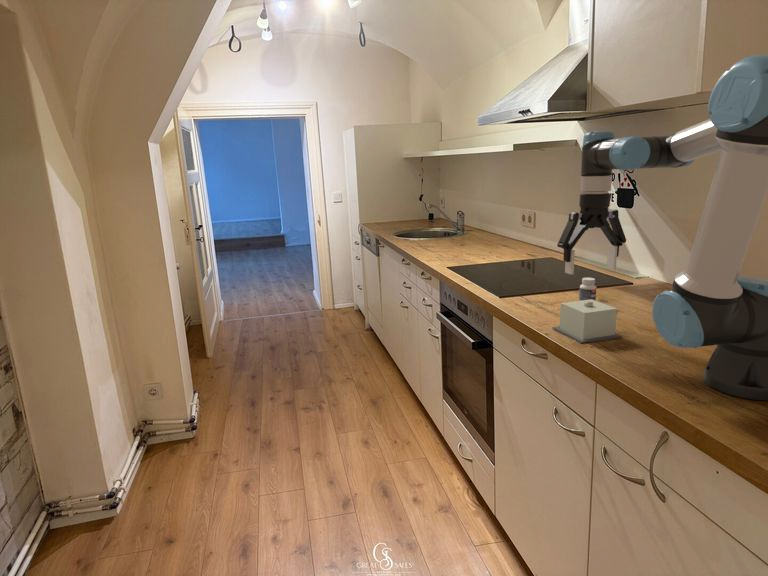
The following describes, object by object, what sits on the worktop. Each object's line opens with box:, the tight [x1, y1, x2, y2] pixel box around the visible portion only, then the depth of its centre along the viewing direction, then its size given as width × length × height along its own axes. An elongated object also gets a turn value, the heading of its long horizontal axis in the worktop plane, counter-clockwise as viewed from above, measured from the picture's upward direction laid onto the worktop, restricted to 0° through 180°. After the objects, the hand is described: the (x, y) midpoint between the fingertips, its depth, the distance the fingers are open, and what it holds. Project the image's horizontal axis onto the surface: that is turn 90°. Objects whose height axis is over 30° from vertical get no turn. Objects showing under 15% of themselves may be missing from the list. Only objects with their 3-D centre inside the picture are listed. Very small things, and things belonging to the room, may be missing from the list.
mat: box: [552, 325, 623, 344], centre depth 143 cm, size 13×13×1 cm
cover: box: [559, 299, 618, 339], centre depth 142 cm, size 10×10×8 cm
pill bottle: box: [578, 277, 597, 301], centre depth 170 cm, size 5×5×9 cm
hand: (590, 271), depth 139 cm, fingers open, 13 cm apart
